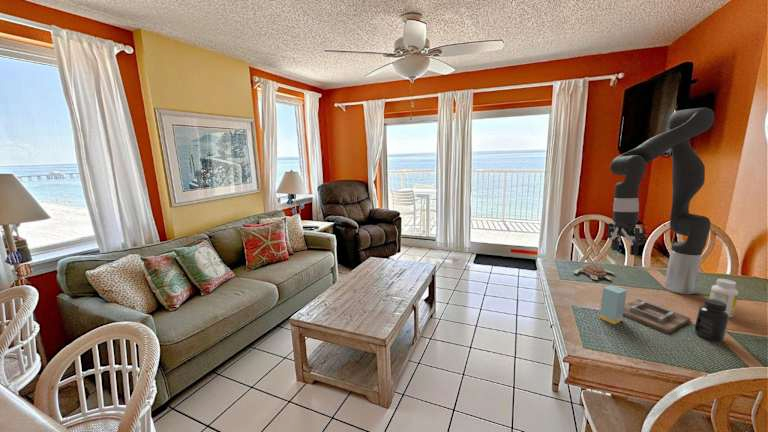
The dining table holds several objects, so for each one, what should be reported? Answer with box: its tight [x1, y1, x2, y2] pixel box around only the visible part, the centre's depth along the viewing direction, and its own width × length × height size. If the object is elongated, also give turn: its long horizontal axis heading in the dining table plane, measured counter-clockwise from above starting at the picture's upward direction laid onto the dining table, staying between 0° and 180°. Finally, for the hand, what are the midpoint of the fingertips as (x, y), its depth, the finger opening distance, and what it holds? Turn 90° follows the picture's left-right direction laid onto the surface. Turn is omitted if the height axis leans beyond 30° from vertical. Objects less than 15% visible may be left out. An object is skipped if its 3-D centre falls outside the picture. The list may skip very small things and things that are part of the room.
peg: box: [598, 284, 628, 325], centre depth 110 cm, size 5×5×12 cm
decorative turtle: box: [572, 263, 615, 281], centre depth 149 cm, size 18×17×5 cm
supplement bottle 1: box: [708, 278, 739, 318], centre depth 112 cm, size 7×7×13 cm
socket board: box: [623, 298, 692, 335], centre depth 112 cm, size 16×16×3 cm
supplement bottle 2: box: [693, 298, 730, 342], centre depth 99 cm, size 7×7×12 cm
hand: (624, 252), depth 116 cm, fingers open, 8 cm apart
